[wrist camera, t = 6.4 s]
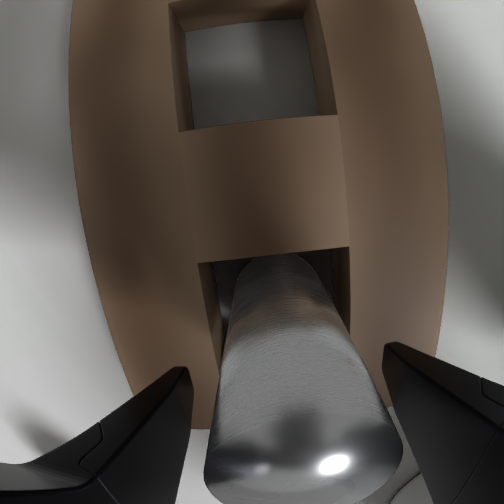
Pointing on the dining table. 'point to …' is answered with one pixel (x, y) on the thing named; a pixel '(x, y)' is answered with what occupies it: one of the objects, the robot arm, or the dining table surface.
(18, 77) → the dining table surface
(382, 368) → the robot arm
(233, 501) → the lock pin
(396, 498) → the cylinder vase
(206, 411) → the mount block
